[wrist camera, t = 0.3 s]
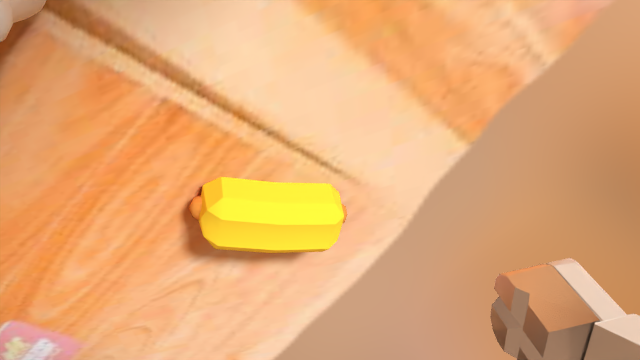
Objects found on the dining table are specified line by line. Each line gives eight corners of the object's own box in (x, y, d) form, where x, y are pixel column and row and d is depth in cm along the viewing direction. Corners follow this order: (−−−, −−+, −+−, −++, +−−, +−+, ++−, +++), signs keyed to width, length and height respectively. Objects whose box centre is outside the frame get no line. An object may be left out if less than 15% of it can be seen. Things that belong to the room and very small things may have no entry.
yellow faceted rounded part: (191, 167, 60) (184, 225, 64) (194, 203, 55) (186, 264, 58) (350, 178, 66) (335, 231, 69) (367, 211, 60) (350, 267, 64)
